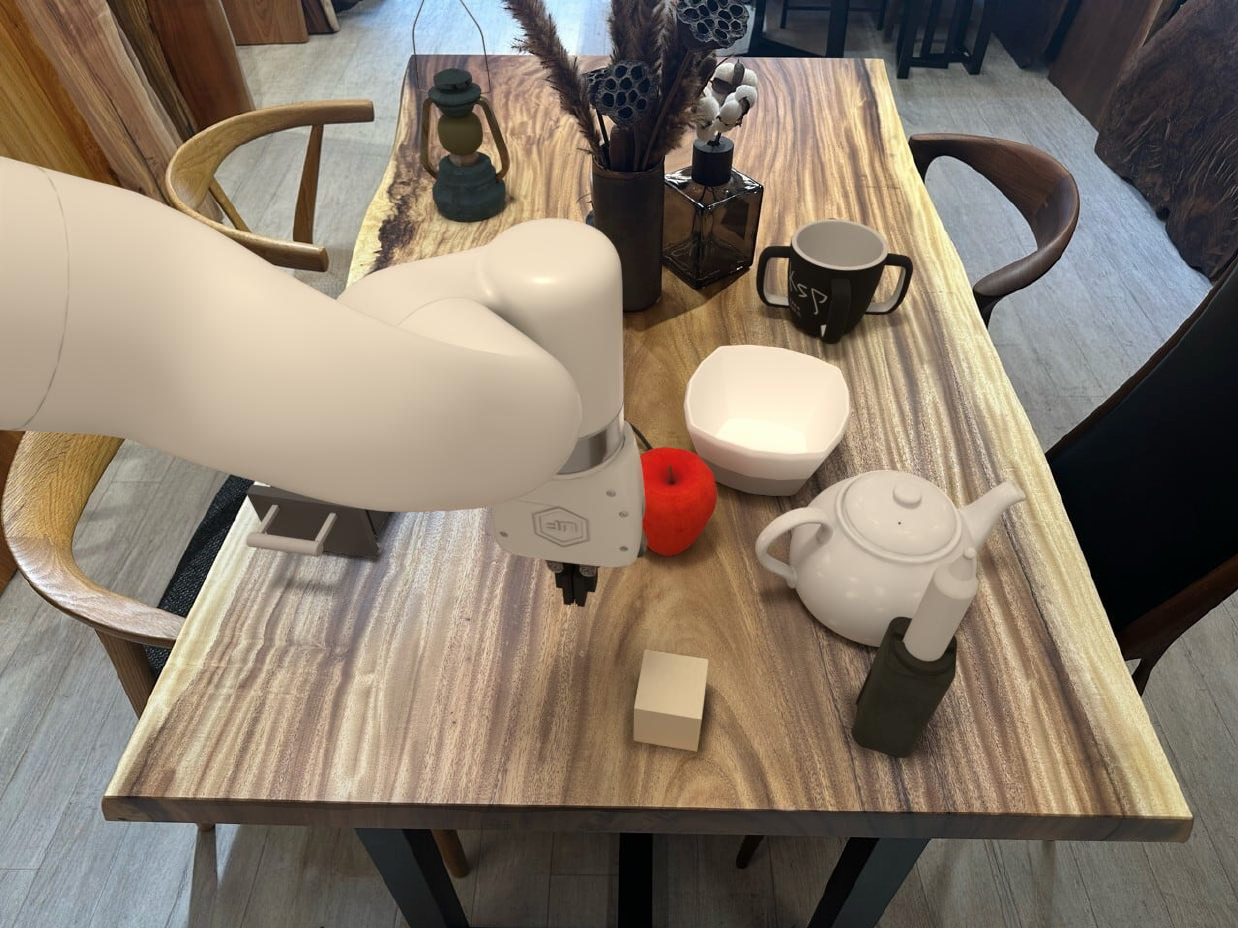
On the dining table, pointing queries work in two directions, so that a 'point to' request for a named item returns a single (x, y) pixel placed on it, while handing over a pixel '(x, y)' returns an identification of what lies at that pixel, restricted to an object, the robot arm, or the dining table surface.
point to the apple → (676, 498)
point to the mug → (833, 277)
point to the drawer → (312, 524)
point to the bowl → (765, 416)
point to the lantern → (462, 146)
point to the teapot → (877, 547)
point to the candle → (915, 663)
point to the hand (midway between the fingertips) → (578, 590)
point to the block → (670, 700)
